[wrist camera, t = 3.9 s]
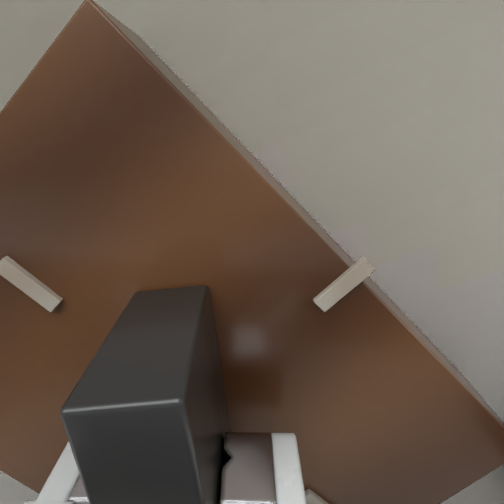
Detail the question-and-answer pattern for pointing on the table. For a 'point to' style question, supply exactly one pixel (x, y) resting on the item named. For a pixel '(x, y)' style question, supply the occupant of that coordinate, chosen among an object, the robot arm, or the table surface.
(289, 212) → the panel
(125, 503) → the grey block
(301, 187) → the table surface
